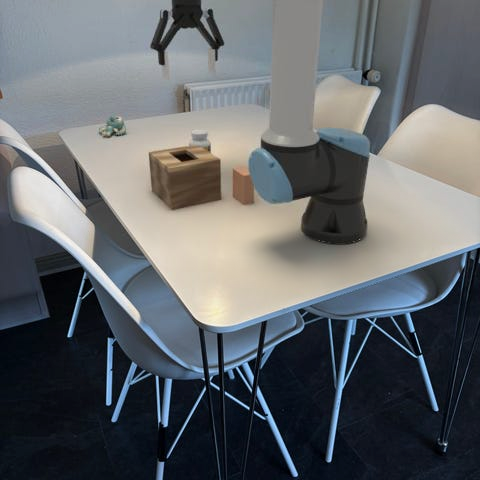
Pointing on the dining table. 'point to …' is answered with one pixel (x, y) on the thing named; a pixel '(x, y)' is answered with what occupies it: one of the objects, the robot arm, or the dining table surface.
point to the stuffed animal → (113, 126)
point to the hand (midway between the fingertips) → (189, 76)
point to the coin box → (185, 176)
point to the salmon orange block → (243, 186)
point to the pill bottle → (200, 139)
